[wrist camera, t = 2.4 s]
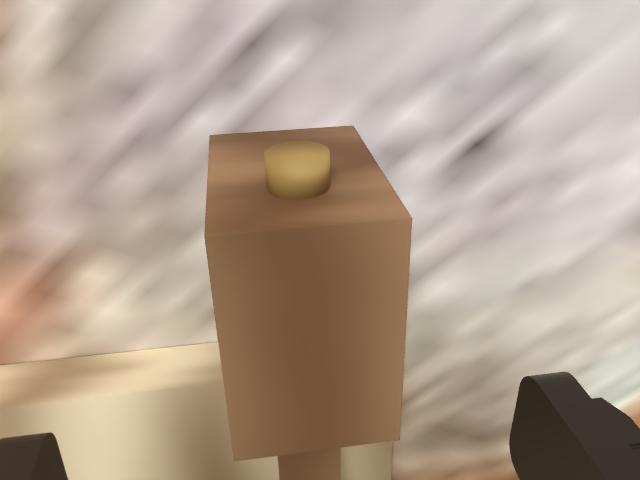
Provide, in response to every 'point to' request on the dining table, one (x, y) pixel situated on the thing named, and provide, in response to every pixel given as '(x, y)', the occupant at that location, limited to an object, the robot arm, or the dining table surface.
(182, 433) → the board
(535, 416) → the robot arm
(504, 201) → the dining table surface
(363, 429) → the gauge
